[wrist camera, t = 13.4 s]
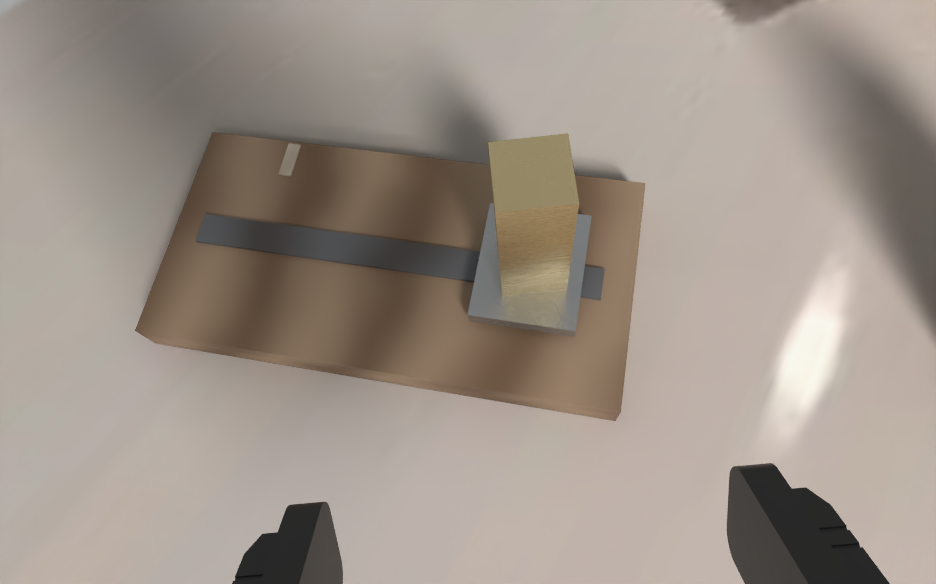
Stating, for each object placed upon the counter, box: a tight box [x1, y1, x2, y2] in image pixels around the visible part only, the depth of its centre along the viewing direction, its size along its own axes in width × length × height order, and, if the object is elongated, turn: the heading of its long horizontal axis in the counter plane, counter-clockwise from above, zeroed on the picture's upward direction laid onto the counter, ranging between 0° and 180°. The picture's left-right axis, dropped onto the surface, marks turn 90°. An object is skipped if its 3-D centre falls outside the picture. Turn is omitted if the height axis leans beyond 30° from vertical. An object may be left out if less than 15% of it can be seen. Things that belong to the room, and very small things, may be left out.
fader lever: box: [468, 134, 592, 337], centre depth 29 cm, size 5×6×9 cm
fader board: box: [135, 132, 645, 421], centre depth 35 cm, size 24×12×2 cm, turn 79°
